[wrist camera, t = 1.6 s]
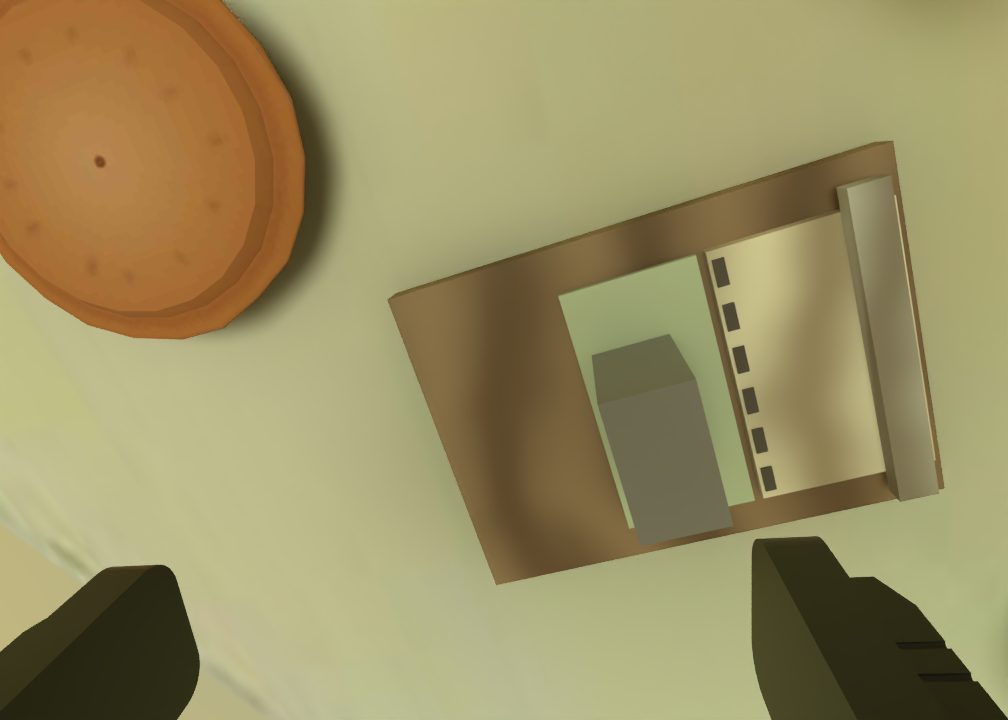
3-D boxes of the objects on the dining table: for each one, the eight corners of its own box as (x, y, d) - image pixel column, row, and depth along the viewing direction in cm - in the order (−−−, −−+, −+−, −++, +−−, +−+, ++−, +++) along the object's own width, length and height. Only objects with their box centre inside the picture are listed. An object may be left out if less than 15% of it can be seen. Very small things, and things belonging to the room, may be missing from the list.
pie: (-3, 245, 32) (-103, 260, 27) (47, -88, 27) (-64, -141, 22) (279, 369, 32) (229, 405, 27) (379, 65, 27) (339, 44, 23)
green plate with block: (694, 253, 27) (731, 281, 20) (752, 496, 30) (800, 582, 24) (558, 294, 28) (555, 331, 22) (628, 524, 31) (643, 613, 25)
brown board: (875, 142, 26) (915, 139, 23) (926, 473, 30) (966, 507, 27) (395, 293, 30) (376, 308, 27) (499, 567, 34) (492, 607, 31)
